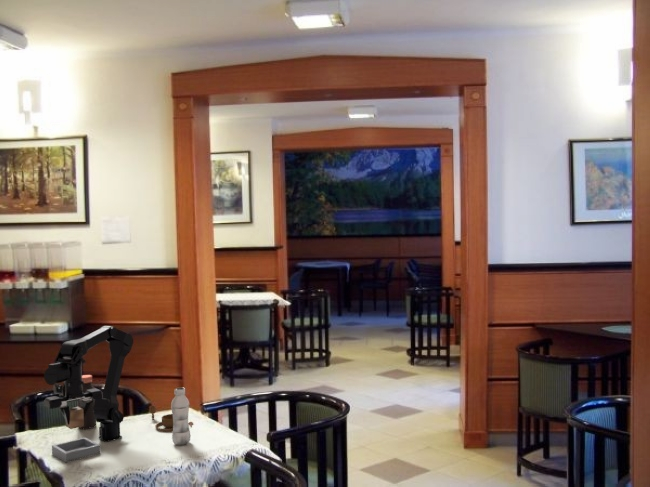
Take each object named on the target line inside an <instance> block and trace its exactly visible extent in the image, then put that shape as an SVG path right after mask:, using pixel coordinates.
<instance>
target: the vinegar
mask: <svg viewBox="0 0 650 487" xmlns="http://www.w3.org/2000/svg"><path fill="white" fill-rule="evenodd" d="M82 381H84V384H82V392H83V393H85V392H86V390H89V389H94V388H95V386H93V384H92V383H93V375H92V374H82ZM76 398H78V397H76ZM92 401H94V402H93V403H91V405H90V406H89V408H88V410H87V412H86V415H85V417H84V426H83V427H78V428H79V429H80V430H88V429H89V430H90V429H93V428H95V427H96V426H97V421H96V418H95V415H94V414H93V411H94V409H93V407H94V404H95V400H94V399H93V398H92ZM76 404H77V405H76V407H80V402H79V400H76Z"/></svg>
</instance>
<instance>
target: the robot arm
mask: <svg viewBox="0 0 650 487" xmlns="http://www.w3.org/2000/svg"><path fill="white" fill-rule="evenodd" d="M105 341H106V342H107V343H108V349H109V352H110V358H109V360H110V361H109V363H108V368H107V373H106V377H105V381H104V382H105V383H104V385H103V386H104V387H103V391H102V390H101V389H98V388H96V387H94V389H89V390H86V392H85V393H83V392H82V384H84V381H82V375H83V371H82V369H83V368H82V365H83V364H86V363H87V361H86V359H84V358H83V357H84V356H86V354H88V351H89V350H90V349H92V348H95V346H97V345H99V344H100V343H101V344H102V342H105ZM133 344H134V338H133V336H132V334H131V333H127V332H125V331H123V330H120V329H118V328H116V327H115V326H113V325H103V326H101V327H100V328H99V329H97V330H95V331H93V332H91V333H89V334H87V335H85V336H83V337H81V338H78V339H71V340H67V341H64V342H63V343H62V344H61V346H60V349H59V351H58V353H57V355H56V357H55V359H54V361H53V363H50V364H48V368H46V370H45V371H44V374H43V379H44V381H45V382H46V384H47V385H50V386H52V387H53V388H52V390H53V396H48V397H45V398H44V400H43V406H44V407H45V408H47V409H49V410H52V409H59V410H60V411H61V414H62V415H63V418H64V420H65V421H64V422H65V424H66V423H67V424H68V425H69V408H70V405H68V403H69V402H75V401H76V402H77V400H79V402H80V408H82V409H83V413H84V417H85V415H86V412H87V410H88V408H89V406H90V405H91V403H93V402H94V401H92V398H93V399H94V400H95V404H94V407H93V409H94V411H93V414H94V415H95V418H96V423H99V425H100V426H99V427H98V428H99V429H98V434H99V435H98V439H99V440H101V441H103V442H106V443H107V442H111V441H115V440H119V439H122V438H123V436H122V435H121V426H120V425H121V424H122V422H124V417H125V415H124V413H122V412H121V411H120V409H119V408H120V406H119V405H120V404H119V400H118V397H117V396H118V395H117V394H118V391H119V385H120V381H121V376H122V371H123V367H124V363H125V358H126V357H127V356H128V354H129V353H131V351H132V347H133ZM60 383H62V385H61V384H60ZM57 394H58V396H56V395H57ZM77 397H78V398H77Z"/></svg>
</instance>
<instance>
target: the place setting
mask: <svg viewBox="0 0 650 487" xmlns="http://www.w3.org/2000/svg"><path fill="white" fill-rule="evenodd" d="M156 412H157V405H150V406H149V413H150V414H151V421H155V414H156ZM188 424H189V427H190V429H191V428H193V425H194V422H193V421H190V422H189V421H188ZM161 426H163V427H165V428H161ZM155 430H156V431H158V432H162V433H171V432H172V433H173V414H172V413H170V414H169V413H168V414H164V415H162V416H161V421H160V422H158V423H156V424H155Z"/></svg>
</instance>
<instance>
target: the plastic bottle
mask: <svg viewBox="0 0 650 487" xmlns="http://www.w3.org/2000/svg"><path fill="white" fill-rule="evenodd" d="M174 395H175V396H174V397H173V398H172V401H171V404H170V407H171V412H172V413H171V414H173V432H172V434H171V439H172V443H173V444H174V445H176V446H183V445H187V444H189V443H190V441H191V436H192V435H191V430H190V425H189V424H188V423H189V409H190V401H189V400H190V399H188V398H187V396H186V388H185V387H176V388H174Z"/></svg>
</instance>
